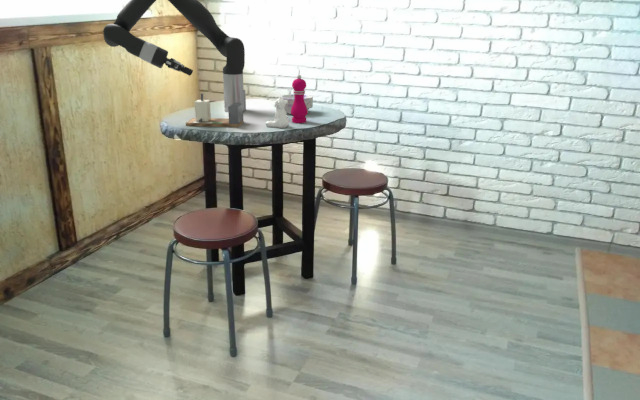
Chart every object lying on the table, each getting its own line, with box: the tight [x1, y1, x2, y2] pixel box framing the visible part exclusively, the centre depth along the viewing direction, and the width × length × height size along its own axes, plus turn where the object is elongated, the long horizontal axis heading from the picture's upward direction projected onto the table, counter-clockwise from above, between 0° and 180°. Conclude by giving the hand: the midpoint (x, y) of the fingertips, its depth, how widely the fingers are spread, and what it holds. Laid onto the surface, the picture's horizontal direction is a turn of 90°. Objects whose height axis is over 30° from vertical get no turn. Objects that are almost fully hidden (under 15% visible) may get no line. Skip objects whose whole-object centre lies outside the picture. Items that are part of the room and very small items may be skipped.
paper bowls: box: [279, 93, 314, 115], centre depth 253 cm, size 15×15×8 cm
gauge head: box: [194, 93, 212, 122], centre depth 225 cm, size 5×8×11 cm, turn 176°
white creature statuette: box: [265, 97, 290, 129], centre depth 224 cm, size 10×9×12 cm
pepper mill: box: [290, 74, 309, 124], centre depth 232 cm, size 7×7×20 cm
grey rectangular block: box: [228, 103, 244, 124], centre depth 227 cm, size 4×10×7 cm, turn 177°
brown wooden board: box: [185, 117, 244, 128], centre depth 229 cm, size 22×11×1 cm, turn 87°
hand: (191, 73), depth 221 cm, fingers open, 8 cm apart
